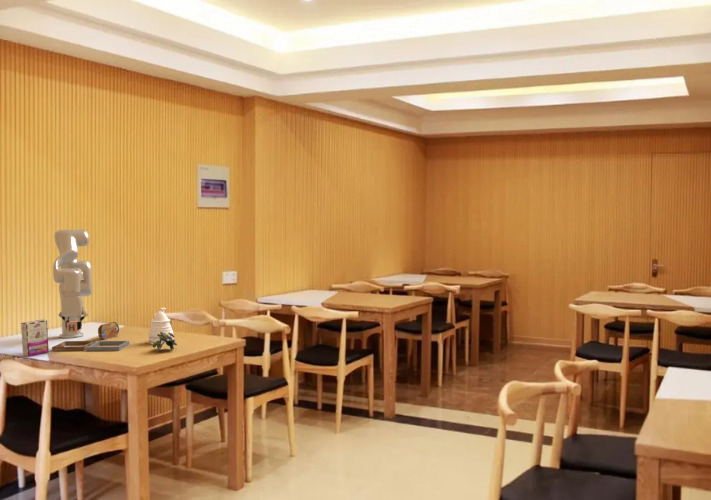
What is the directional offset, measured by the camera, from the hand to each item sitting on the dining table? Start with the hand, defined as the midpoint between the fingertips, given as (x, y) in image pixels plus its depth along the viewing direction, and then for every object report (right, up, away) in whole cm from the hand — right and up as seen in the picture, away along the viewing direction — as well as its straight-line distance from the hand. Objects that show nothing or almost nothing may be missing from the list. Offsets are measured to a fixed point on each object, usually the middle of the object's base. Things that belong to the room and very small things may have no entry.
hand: (73, 328), depth 350 cm
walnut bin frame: (0, -10, 0) cm, 10 cm away
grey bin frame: (+18, -10, -1) cm, 21 cm away
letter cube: (0, -1, 0) cm, 1 cm away
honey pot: (+41, -9, +13) cm, 44 cm away
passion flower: (+49, -10, -10) cm, 51 cm away
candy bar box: (-12, -11, -15) cm, 22 cm away
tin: (+8, -8, +27) cm, 29 cm away
